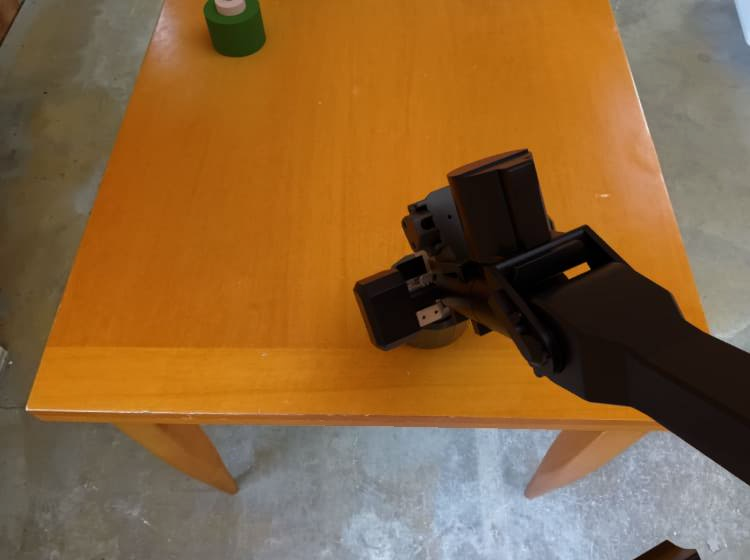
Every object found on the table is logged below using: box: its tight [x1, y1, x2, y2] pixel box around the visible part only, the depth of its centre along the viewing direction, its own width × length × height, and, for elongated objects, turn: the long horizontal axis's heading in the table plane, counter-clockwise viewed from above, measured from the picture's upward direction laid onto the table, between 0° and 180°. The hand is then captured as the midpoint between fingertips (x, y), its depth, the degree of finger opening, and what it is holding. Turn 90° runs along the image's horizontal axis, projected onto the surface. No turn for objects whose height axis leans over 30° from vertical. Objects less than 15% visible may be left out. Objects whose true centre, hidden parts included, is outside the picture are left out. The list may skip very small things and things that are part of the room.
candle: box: [202, 0, 267, 58], centre depth 84 cm, size 8×8×10 cm
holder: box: [389, 252, 471, 350], centre depth 61 cm, size 10×10×4 cm
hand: (425, 265), depth 58 cm, fingers closed on salt shaker, 3 cm apart
